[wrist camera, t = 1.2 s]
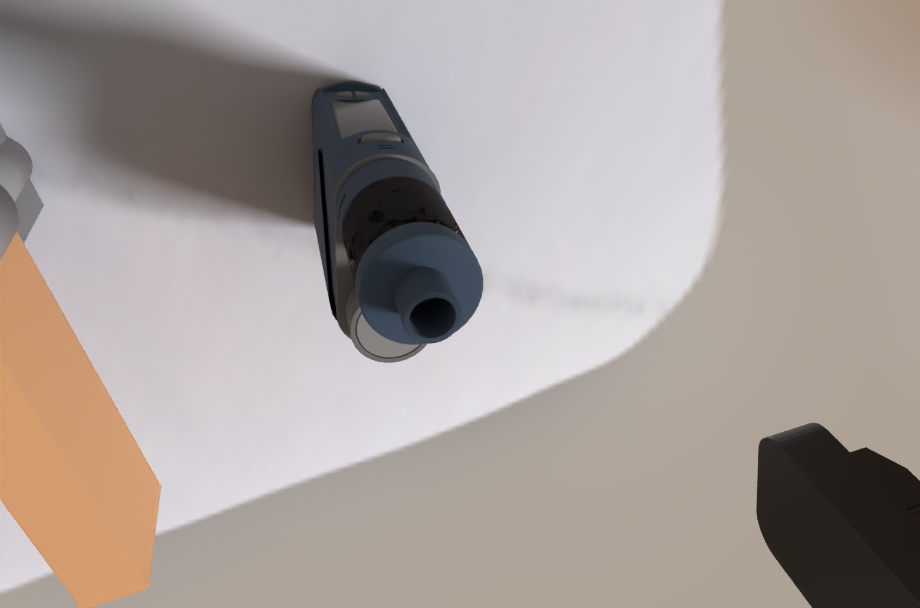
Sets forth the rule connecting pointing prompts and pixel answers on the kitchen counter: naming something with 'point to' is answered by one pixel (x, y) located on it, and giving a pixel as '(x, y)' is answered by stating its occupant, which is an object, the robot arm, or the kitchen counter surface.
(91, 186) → the kitchen counter surface
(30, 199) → the socket block
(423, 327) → the vaping device
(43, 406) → the orange bar
